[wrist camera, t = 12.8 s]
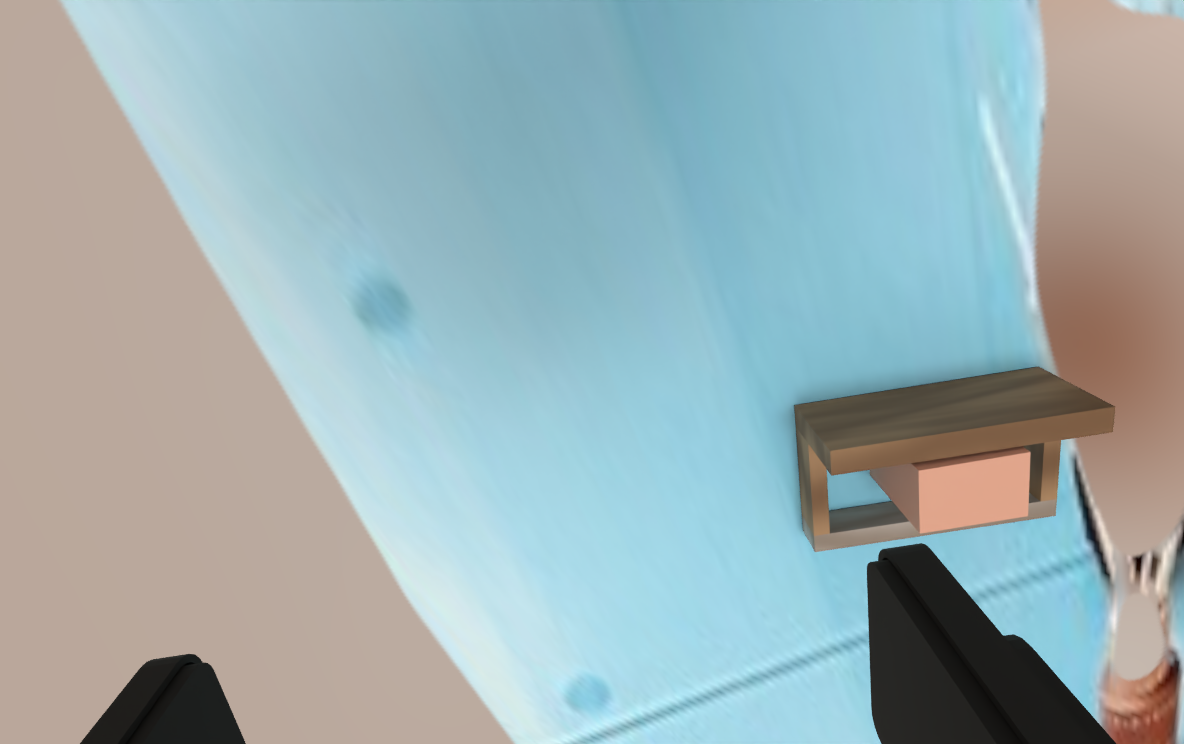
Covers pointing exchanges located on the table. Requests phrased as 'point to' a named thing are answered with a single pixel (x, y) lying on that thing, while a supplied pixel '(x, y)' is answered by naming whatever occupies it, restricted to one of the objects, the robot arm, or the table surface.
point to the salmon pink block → (959, 489)
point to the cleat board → (936, 443)
